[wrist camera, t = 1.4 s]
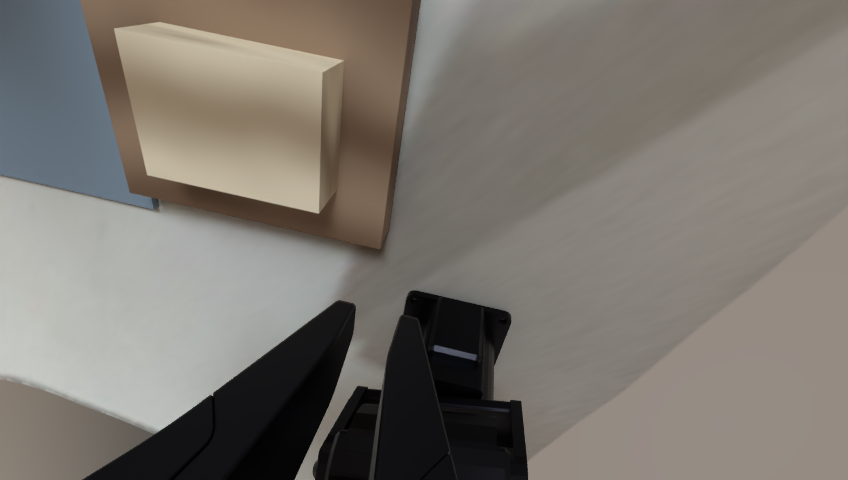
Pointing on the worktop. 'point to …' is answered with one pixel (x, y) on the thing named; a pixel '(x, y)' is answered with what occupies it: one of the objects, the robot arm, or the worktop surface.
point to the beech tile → (234, 113)
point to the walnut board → (302, 31)
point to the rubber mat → (56, 103)
